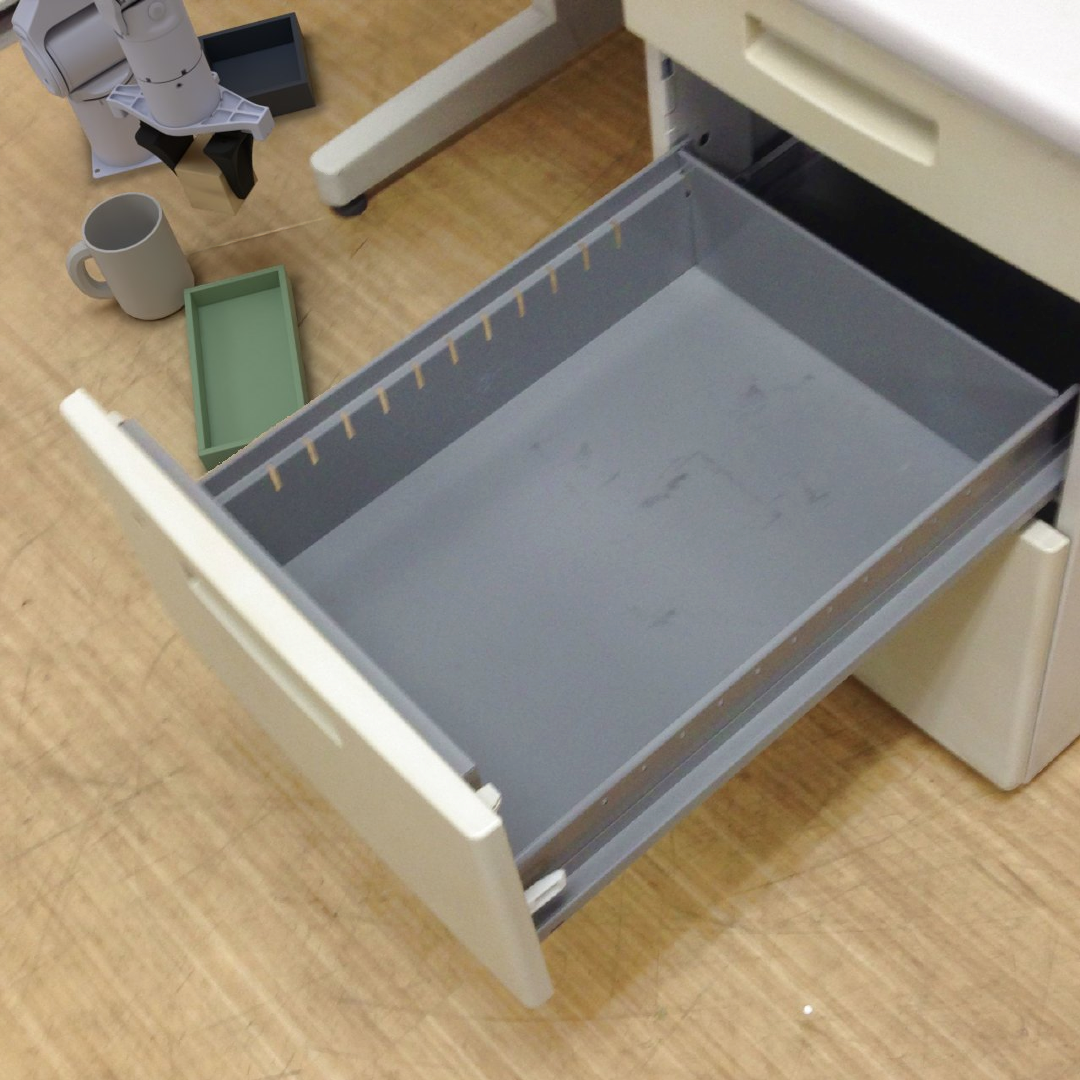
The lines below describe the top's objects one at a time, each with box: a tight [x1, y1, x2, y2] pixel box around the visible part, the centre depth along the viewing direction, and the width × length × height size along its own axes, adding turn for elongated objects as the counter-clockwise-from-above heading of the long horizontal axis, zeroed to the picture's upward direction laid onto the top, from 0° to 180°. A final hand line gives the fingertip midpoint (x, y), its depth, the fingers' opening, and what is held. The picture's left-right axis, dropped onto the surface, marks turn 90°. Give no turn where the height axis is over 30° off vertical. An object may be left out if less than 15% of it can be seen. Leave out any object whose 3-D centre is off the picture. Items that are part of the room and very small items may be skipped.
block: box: [174, 134, 259, 217], centre depth 129 cm, size 4×4×4 cm
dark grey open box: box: [197, 11, 316, 119], centre depth 151 cm, size 11×10×4 cm
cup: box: [65, 191, 195, 321], centre depth 134 cm, size 7×10×9 cm
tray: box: [184, 263, 310, 473], centre depth 130 cm, size 19×9×2 cm, turn 12°
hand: (222, 187), depth 131 cm, fingers closed on block, 4 cm apart
